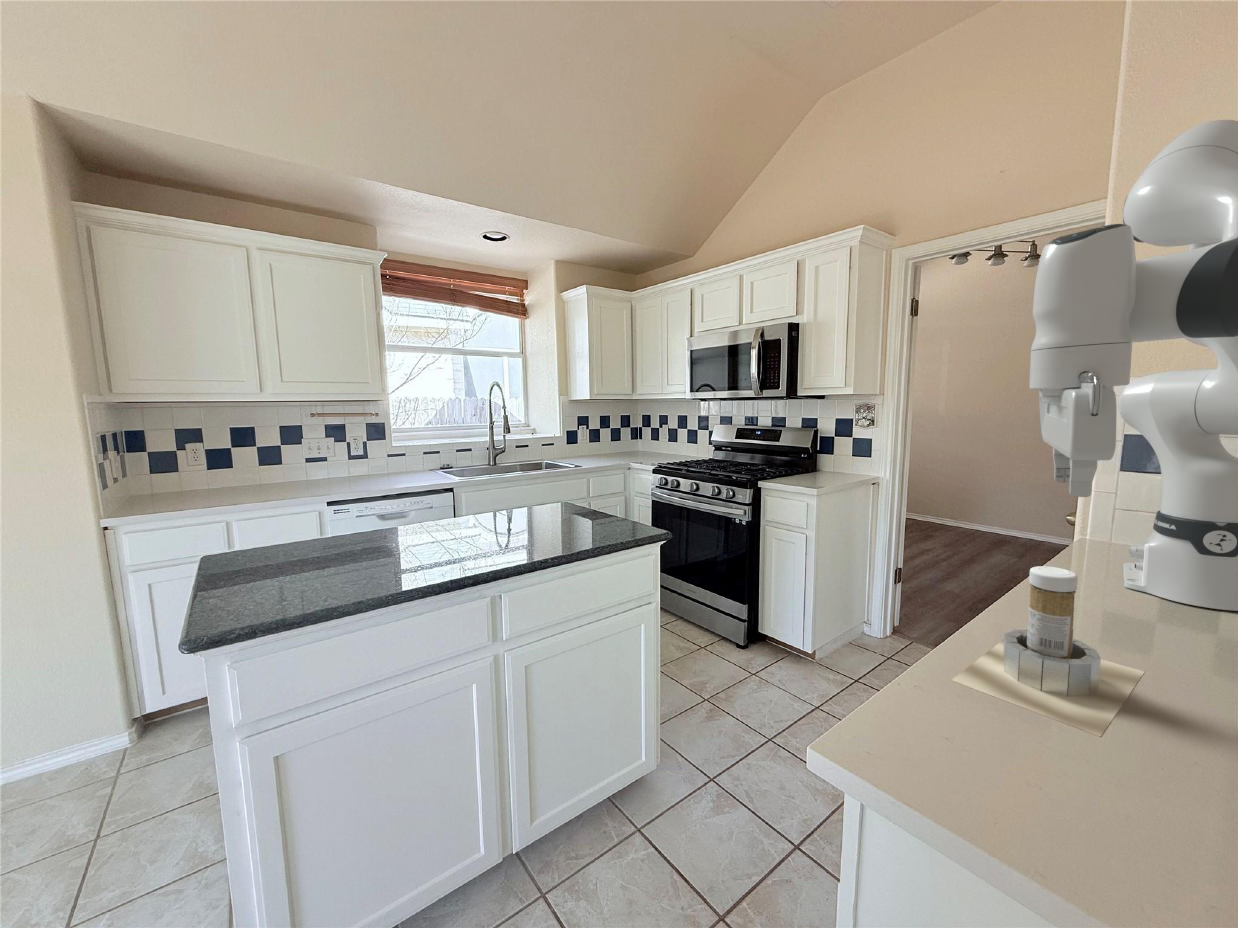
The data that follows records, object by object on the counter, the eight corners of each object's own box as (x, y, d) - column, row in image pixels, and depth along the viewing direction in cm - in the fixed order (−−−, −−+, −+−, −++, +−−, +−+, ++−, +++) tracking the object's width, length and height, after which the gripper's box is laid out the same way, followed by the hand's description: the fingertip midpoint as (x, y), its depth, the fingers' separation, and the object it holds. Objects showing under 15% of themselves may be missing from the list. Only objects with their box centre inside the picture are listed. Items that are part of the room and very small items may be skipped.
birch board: (1010, 641, 76) (1011, 633, 76) (1143, 680, 65) (1144, 671, 64) (951, 688, 65) (951, 680, 64) (1099, 747, 53) (1100, 736, 53)
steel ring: (1000, 652, 71) (1002, 624, 70) (1087, 668, 66) (1089, 638, 65) (1006, 683, 63) (1008, 653, 63) (1105, 704, 58) (1108, 671, 58)
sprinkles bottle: (1074, 673, 65) (1082, 570, 63) (1065, 686, 62) (1072, 579, 60) (1029, 659, 68) (1035, 562, 67) (1018, 671, 66) (1024, 570, 64)
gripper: (1142, 368, 50) (1132, 508, 52) (1094, 371, 67) (1087, 476, 69) (1057, 373, 53) (1051, 504, 55) (1032, 375, 70) (1027, 474, 72)
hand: (1071, 488), depth 62 cm, fingers open, 8 cm apart
